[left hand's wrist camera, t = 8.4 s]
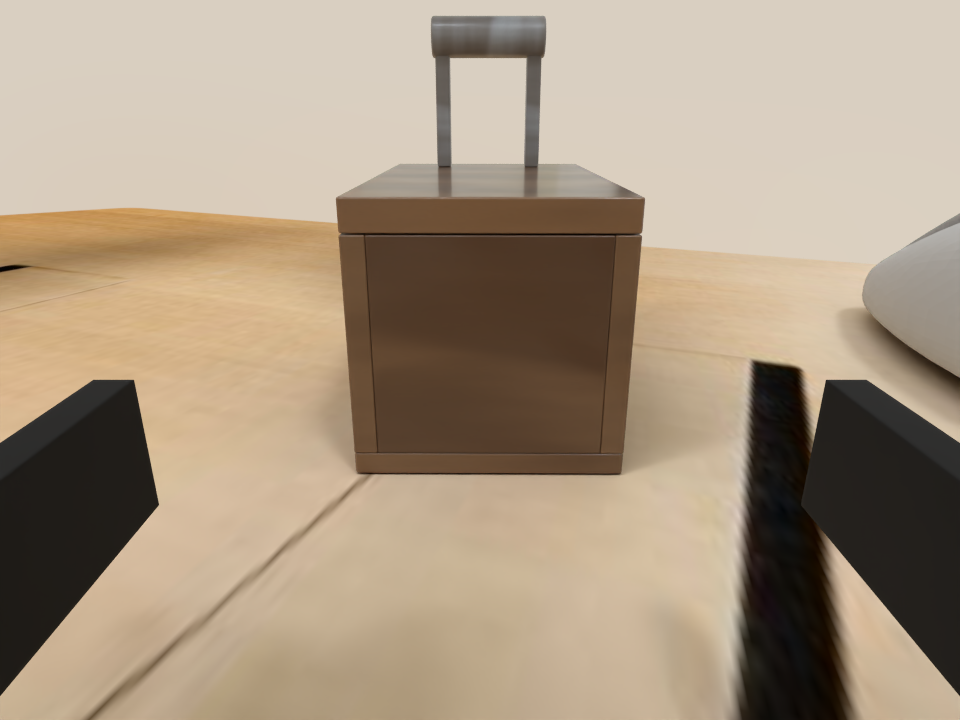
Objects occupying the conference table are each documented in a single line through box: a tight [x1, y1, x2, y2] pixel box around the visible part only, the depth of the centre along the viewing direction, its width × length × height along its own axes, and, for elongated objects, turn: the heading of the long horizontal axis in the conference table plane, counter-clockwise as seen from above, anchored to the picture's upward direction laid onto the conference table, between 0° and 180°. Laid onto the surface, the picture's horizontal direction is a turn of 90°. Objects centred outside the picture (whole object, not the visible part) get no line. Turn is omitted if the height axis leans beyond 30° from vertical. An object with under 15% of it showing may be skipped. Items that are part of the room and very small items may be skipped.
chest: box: [339, 233, 642, 473], centre depth 31 cm, size 16×10×9 cm, turn 0°
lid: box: [336, 16, 645, 234], centre depth 28 cm, size 17×10×8 cm, turn 0°
